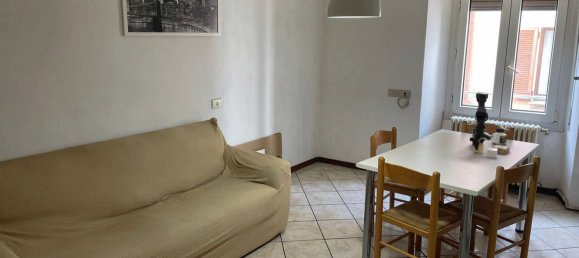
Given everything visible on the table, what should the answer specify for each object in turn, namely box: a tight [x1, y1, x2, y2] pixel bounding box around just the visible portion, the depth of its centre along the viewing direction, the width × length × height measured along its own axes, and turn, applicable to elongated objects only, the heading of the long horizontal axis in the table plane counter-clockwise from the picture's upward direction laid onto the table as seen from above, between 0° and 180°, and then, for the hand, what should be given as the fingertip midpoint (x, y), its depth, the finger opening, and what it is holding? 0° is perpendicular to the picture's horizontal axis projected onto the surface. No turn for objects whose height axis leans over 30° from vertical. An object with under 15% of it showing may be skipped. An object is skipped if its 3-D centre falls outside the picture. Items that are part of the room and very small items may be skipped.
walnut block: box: [491, 144, 511, 155], centre depth 325 cm, size 9×9×4 cm
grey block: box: [486, 147, 498, 159], centre depth 313 cm, size 6×6×5 cm
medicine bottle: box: [491, 126, 508, 146], centre depth 350 cm, size 7×7×12 cm
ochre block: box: [472, 142, 485, 153], centre depth 326 cm, size 5×5×6 cm
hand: (478, 149), depth 326 cm, fingers open, 5 cm apart
